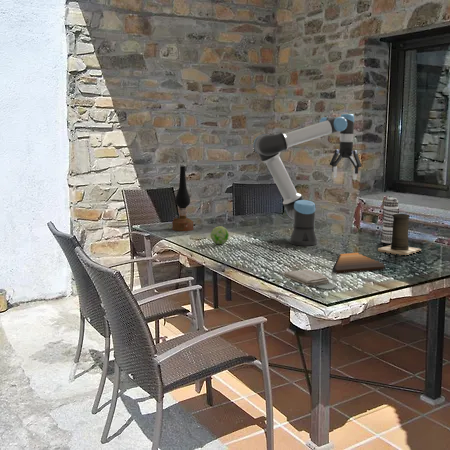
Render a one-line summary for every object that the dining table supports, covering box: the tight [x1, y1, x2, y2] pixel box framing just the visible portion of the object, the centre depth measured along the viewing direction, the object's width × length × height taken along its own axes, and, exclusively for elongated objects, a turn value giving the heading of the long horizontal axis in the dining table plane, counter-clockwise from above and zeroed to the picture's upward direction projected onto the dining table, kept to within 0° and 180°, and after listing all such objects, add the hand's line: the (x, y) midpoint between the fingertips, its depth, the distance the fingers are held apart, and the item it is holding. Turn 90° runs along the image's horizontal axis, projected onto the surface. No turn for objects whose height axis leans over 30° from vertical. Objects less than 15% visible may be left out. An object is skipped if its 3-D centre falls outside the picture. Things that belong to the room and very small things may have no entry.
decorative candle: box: [380, 197, 400, 244], centre depth 323 cm, size 9×9×25 cm
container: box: [390, 213, 410, 250], centre depth 299 cm, size 9×9×18 cm
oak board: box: [377, 244, 422, 256], centre depth 300 cm, size 16×16×2 cm
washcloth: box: [284, 268, 330, 287], centre depth 244 cm, size 12×18×3 cm, turn 30°
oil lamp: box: [171, 165, 194, 232], centre depth 355 cm, size 14×15×40 cm
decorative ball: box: [210, 225, 230, 245], centre depth 313 cm, size 10×10×10 cm
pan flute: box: [332, 252, 386, 274], centre depth 270 cm, size 25×3×25 cm
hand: (344, 178), depth 330 cm, fingers open, 13 cm apart
